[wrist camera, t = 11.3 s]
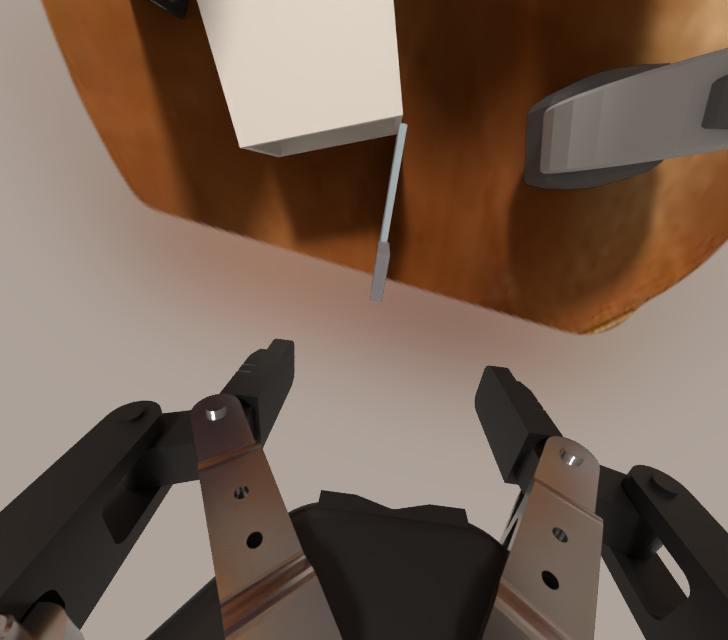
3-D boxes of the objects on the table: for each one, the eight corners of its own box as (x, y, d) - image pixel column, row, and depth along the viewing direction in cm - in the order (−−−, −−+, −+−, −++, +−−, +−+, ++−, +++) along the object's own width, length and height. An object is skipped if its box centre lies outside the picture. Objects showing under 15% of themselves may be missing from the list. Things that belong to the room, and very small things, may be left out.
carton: (385, 0, 28) (385, -90, 19) (397, 134, 32) (403, 114, 23) (248, 34, 29) (187, -32, 20) (278, 157, 34) (239, 147, 25)
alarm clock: (506, 200, 34) (619, 215, 18) (509, 96, 30) (660, -10, 14) (658, 173, 32) (947, 162, 16) (684, 57, 28) (1115, -125, 11)
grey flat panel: (394, 139, 32) (400, 107, 19) (403, 140, 32) (416, 109, 19) (374, 262, 38) (369, 305, 25) (382, 263, 38) (380, 307, 25)
